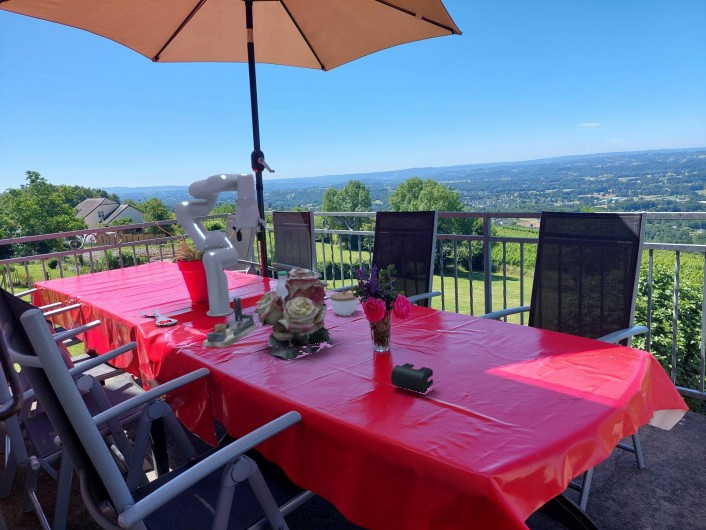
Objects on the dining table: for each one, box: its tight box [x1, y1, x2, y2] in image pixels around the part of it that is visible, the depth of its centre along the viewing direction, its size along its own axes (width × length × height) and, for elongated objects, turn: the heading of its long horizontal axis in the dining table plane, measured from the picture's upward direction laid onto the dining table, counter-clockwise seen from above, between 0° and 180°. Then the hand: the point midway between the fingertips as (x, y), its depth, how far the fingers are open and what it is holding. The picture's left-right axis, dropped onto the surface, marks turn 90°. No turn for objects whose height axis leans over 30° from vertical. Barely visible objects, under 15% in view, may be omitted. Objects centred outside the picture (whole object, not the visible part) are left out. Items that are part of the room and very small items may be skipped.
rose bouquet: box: [254, 266, 334, 362], centre depth 166 cm, size 26×29×30 cm
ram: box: [227, 297, 250, 330], centre depth 189 cm, size 7×8×12 cm
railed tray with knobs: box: [202, 313, 257, 348], centre depth 184 cm, size 10×25×6 cm, turn 166°
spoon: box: [138, 307, 178, 326], centre depth 214 cm, size 9×32×4 cm, turn 41°
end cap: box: [390, 362, 434, 393], centre depth 128 cm, size 10×7×7 cm
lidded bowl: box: [330, 290, 359, 315], centre depth 210 cm, size 13×13×11 cm
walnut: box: [214, 323, 227, 338], centre depth 177 cm, size 4×4×5 cm
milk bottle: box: [275, 270, 288, 296], centre depth 217 cm, size 8×8×20 cm
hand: (249, 241), depth 202 cm, fingers open, 9 cm apart
